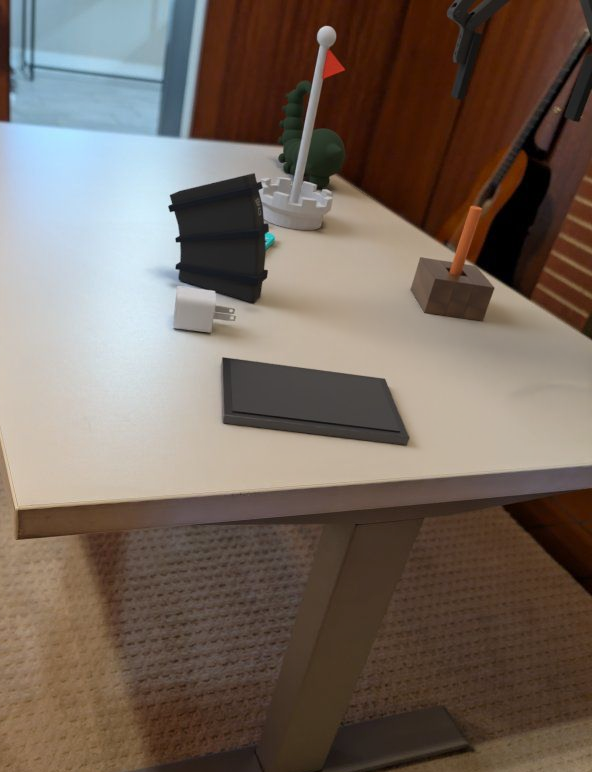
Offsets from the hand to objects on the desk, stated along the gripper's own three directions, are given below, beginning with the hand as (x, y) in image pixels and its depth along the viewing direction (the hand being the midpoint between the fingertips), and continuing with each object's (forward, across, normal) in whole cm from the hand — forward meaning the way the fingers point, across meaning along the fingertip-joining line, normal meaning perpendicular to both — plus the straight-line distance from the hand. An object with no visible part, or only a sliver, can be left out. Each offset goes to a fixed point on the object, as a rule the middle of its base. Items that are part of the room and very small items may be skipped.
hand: (514, 109), depth 85 cm
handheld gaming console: (+28, +27, -22) cm, 44 cm away
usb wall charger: (+28, +31, +9) cm, 43 cm away
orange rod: (+28, -3, -11) cm, 30 cm away
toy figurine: (+28, +12, -73) cm, 79 cm away
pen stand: (+28, -3, -10) cm, 30 cm away
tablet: (+28, +20, +24) cm, 42 cm away
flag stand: (+28, +18, -41) cm, 52 cm away
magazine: (+28, +31, -4) cm, 41 cm away
